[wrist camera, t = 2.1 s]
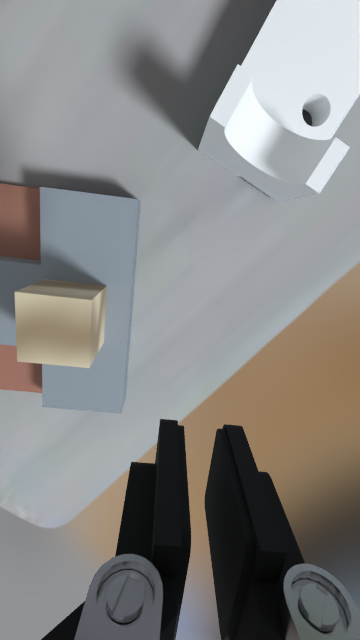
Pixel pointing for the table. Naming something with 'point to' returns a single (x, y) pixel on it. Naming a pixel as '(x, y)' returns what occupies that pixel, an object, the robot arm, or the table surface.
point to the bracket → (289, 99)
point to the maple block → (60, 323)
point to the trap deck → (71, 266)
